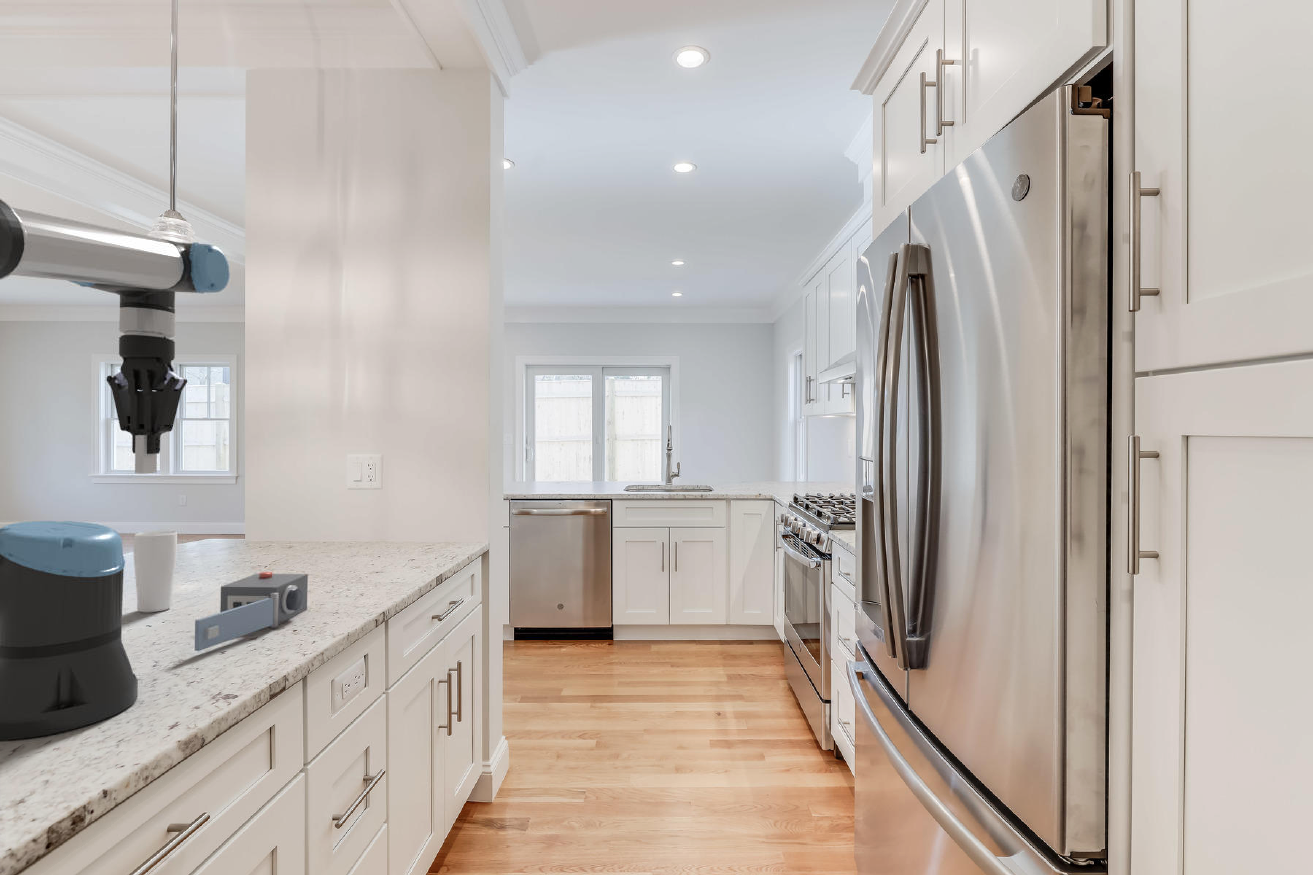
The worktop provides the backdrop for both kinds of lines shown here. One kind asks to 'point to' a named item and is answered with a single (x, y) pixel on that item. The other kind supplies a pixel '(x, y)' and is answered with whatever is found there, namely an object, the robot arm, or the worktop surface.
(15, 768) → the worktop surface
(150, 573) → the drinking glass
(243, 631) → the side door
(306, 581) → the camera box
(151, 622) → the worktop surface
